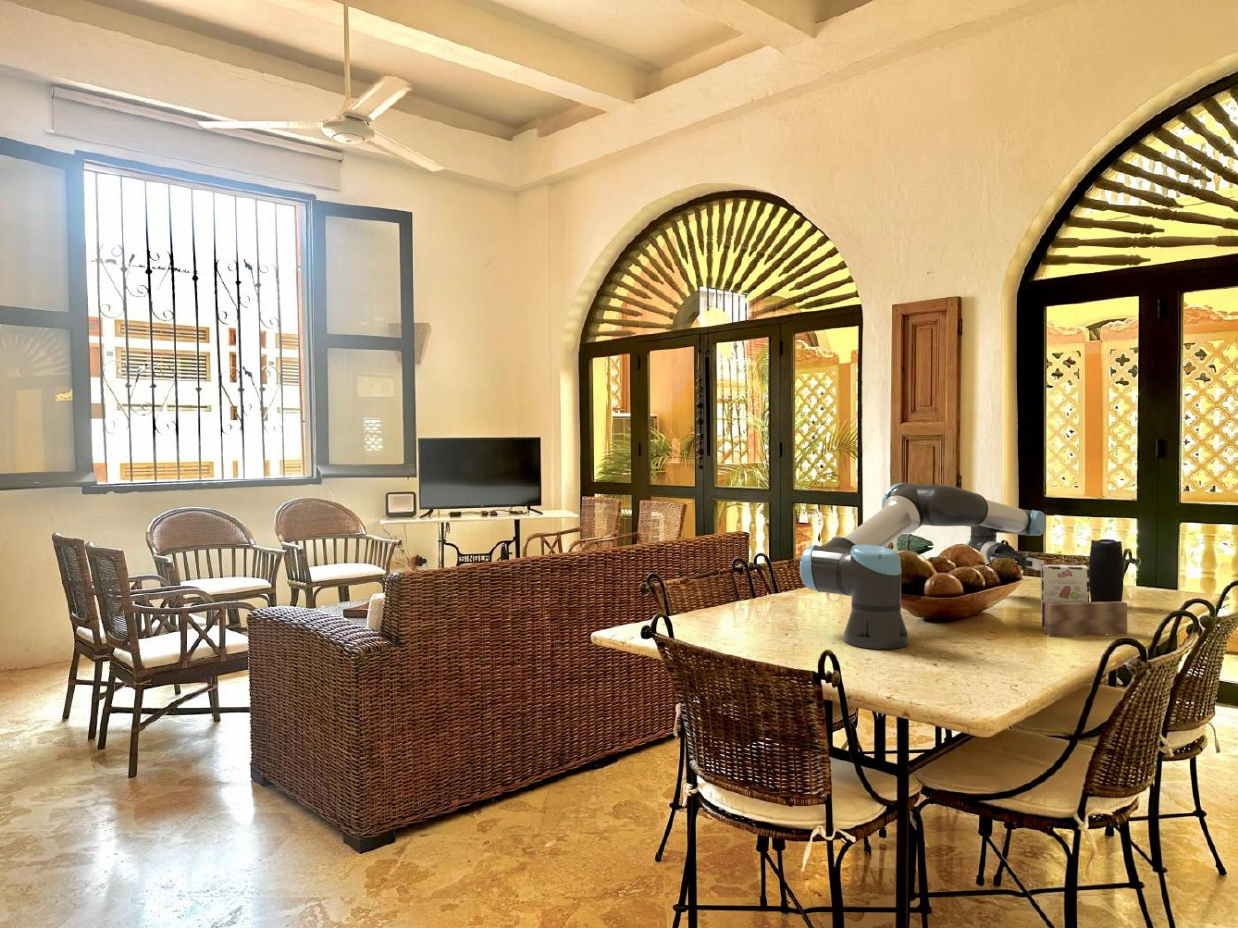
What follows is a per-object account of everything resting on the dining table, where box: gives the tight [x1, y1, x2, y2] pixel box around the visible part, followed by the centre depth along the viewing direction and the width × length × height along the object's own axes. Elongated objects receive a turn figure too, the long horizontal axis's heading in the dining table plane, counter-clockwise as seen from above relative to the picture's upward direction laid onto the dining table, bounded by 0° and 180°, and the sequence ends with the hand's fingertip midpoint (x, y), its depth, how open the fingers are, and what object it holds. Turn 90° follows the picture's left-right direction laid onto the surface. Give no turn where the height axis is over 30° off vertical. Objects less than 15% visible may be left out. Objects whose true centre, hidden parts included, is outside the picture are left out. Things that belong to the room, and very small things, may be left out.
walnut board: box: [1044, 600, 1128, 637], centre depth 219 cm, size 20×2×8 cm, turn 94°
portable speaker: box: [1088, 538, 1124, 602], centre depth 254 cm, size 9×9×20 cm
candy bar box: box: [1040, 563, 1090, 629], centre depth 227 cm, size 11×5×16 cm, turn 68°
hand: (1041, 565), depth 239 cm, fingers closed
